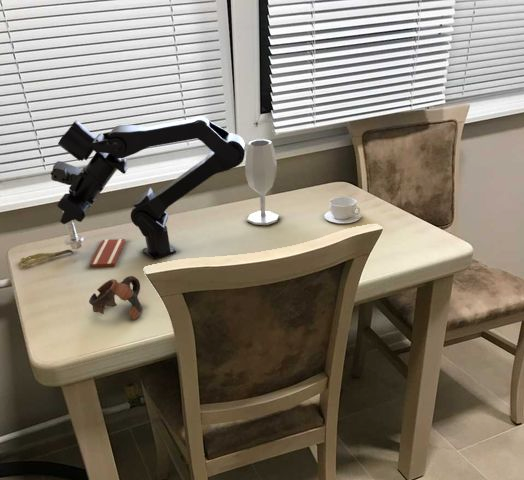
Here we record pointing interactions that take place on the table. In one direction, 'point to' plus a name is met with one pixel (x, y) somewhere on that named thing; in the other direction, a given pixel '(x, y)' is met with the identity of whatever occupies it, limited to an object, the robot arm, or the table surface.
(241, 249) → the table surface
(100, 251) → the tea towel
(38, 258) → the tongs
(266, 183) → the wineglass
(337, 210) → the teacup
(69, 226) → the screw
